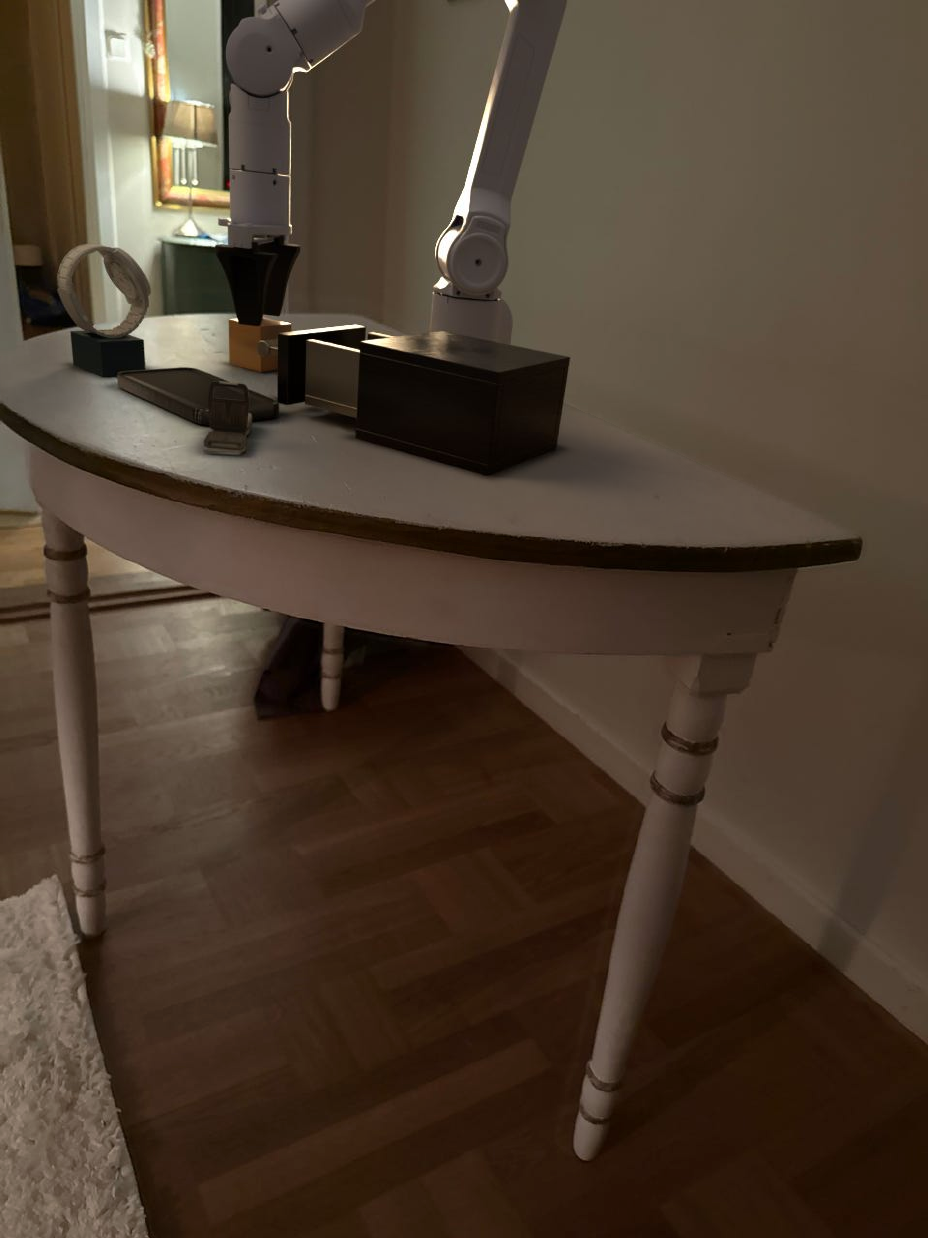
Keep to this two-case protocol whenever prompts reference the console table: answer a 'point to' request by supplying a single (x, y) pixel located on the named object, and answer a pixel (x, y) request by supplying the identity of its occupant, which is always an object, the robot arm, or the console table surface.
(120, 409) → the console table surface
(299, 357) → the drawer
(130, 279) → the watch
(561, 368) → the dark brown box
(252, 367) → the block
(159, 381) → the phone
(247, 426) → the strap clip
